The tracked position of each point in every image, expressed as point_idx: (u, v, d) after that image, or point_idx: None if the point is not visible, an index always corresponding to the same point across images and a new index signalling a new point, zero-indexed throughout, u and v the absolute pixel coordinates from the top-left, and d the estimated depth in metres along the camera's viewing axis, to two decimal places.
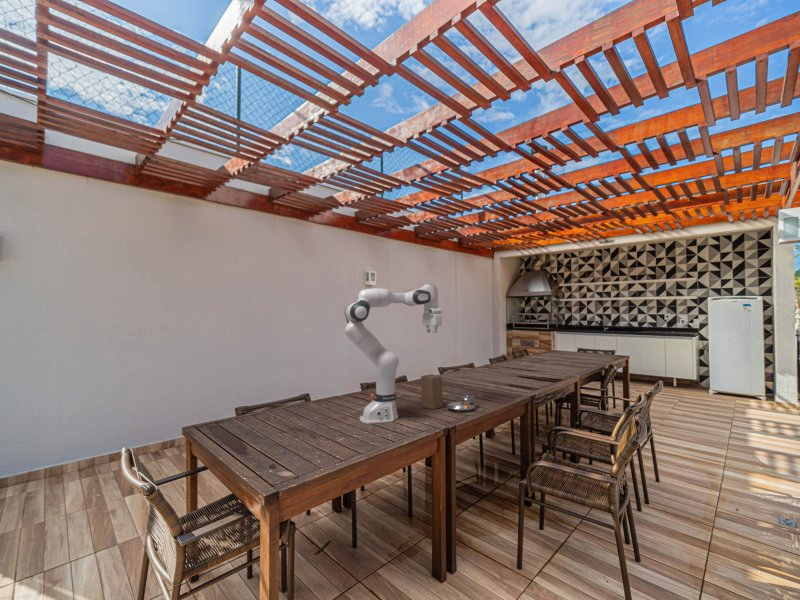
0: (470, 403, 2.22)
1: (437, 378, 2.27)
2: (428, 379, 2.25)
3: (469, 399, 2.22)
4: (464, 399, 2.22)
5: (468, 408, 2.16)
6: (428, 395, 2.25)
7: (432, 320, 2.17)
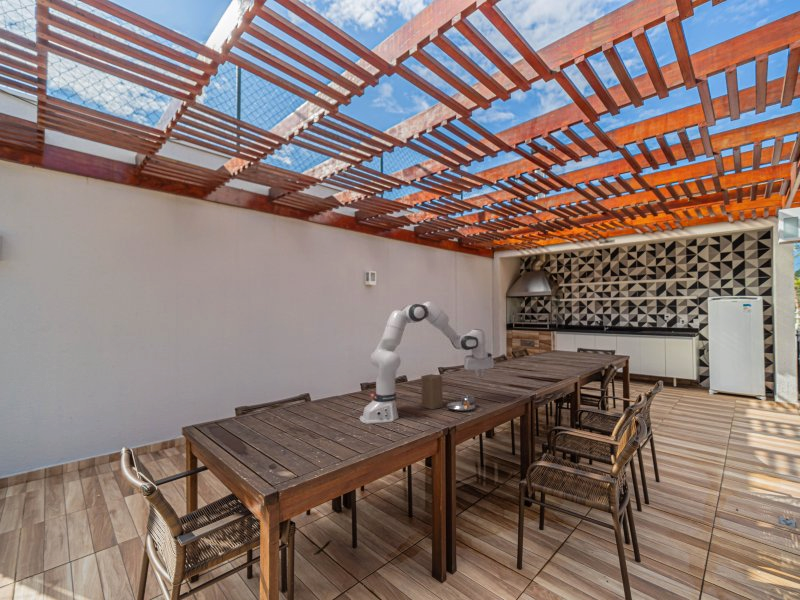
0: (470, 403, 2.22)
1: (437, 378, 2.27)
2: (428, 379, 2.25)
3: (469, 399, 2.22)
4: (464, 399, 2.22)
5: (468, 408, 2.16)
6: (428, 395, 2.25)
7: (486, 363, 2.29)
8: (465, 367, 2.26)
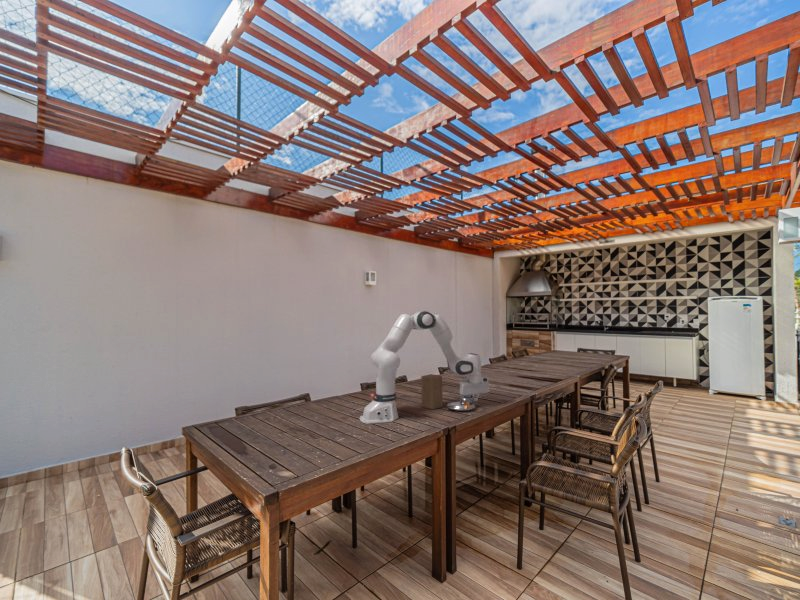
0: (469, 403, 2.21)
1: (437, 378, 2.27)
2: (428, 379, 2.25)
3: (468, 399, 2.21)
4: (463, 399, 2.22)
5: (468, 408, 2.16)
6: (428, 395, 2.25)
7: (482, 388, 2.27)
8: (460, 392, 2.24)
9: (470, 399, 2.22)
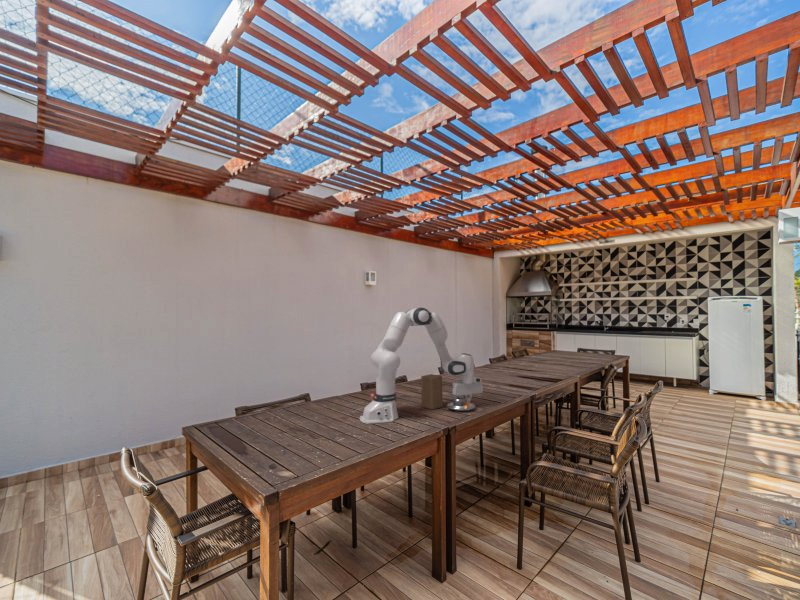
0: (462, 404, 2.19)
1: (437, 378, 2.27)
2: (428, 379, 2.25)
3: (461, 400, 2.19)
4: (456, 400, 2.20)
5: (468, 408, 2.16)
6: (428, 395, 2.25)
7: (475, 388, 2.26)
8: (453, 393, 2.22)
9: (463, 400, 2.20)
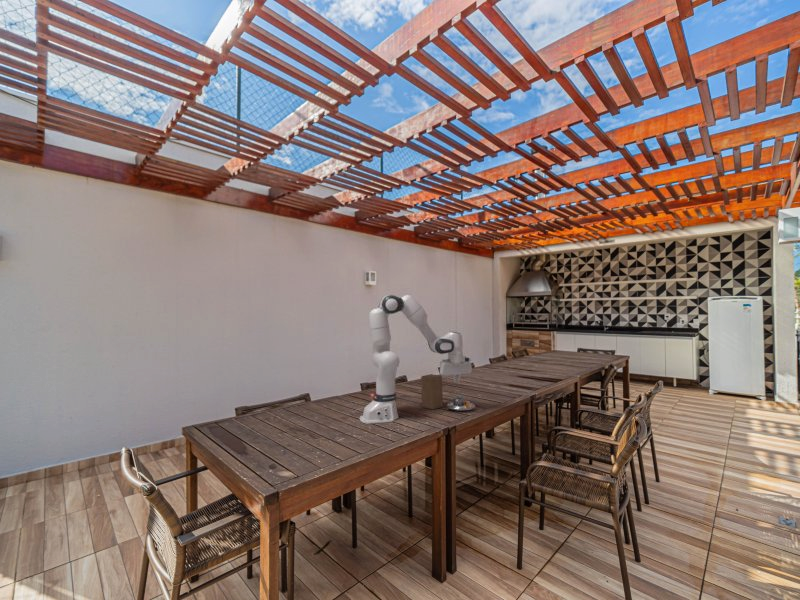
0: (462, 404, 2.19)
1: (437, 378, 2.27)
2: (428, 379, 2.25)
3: (461, 400, 2.19)
4: (456, 400, 2.20)
5: (468, 408, 2.16)
6: (428, 395, 2.25)
7: (464, 368, 2.15)
8: (440, 372, 2.11)
9: (463, 400, 2.20)
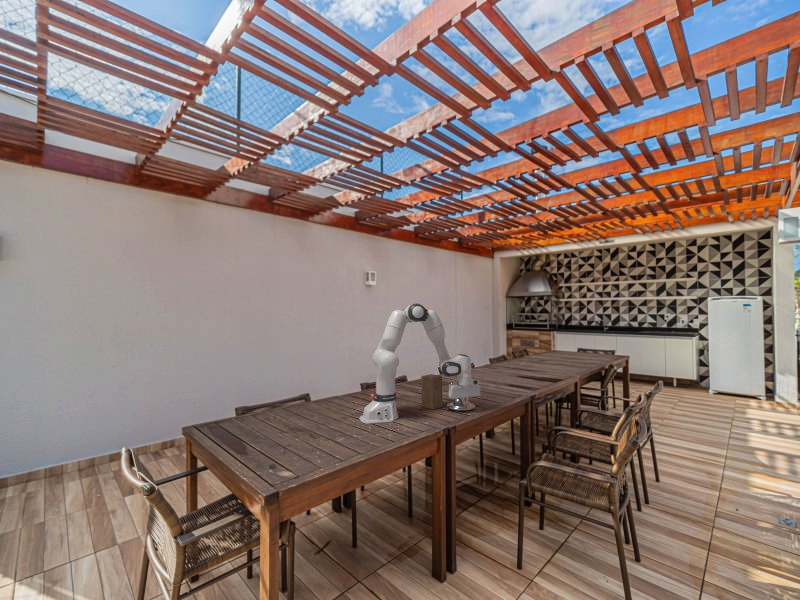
0: (462, 404, 2.19)
1: (437, 378, 2.27)
2: (428, 379, 2.25)
3: (461, 400, 2.19)
4: (456, 400, 2.20)
5: (469, 408, 2.16)
6: (428, 395, 2.25)
7: (472, 391, 2.16)
8: (449, 395, 2.13)
9: None
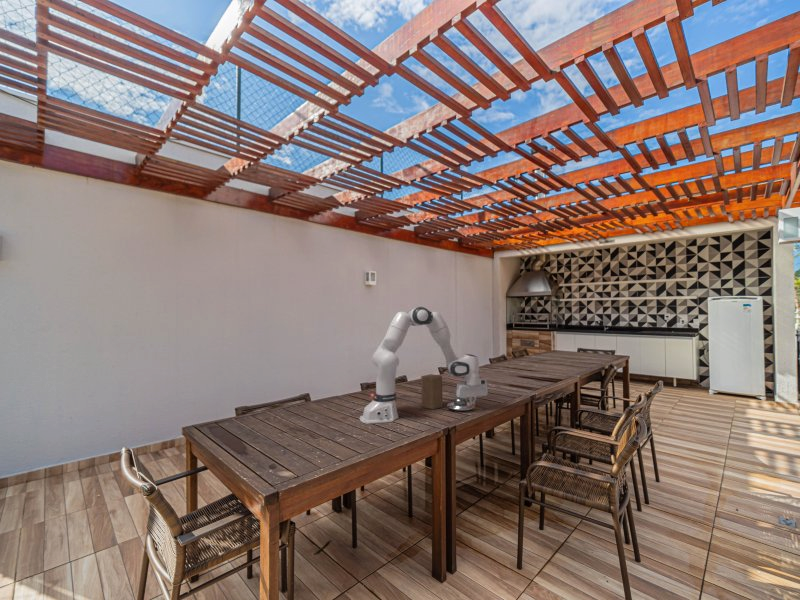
0: (466, 403, 2.21)
1: (437, 378, 2.27)
2: (428, 379, 2.25)
3: (466, 400, 2.20)
4: (462, 400, 2.19)
5: (474, 406, 2.20)
6: (428, 395, 2.25)
7: (480, 390, 2.18)
8: (457, 395, 2.15)
9: (466, 399, 2.22)
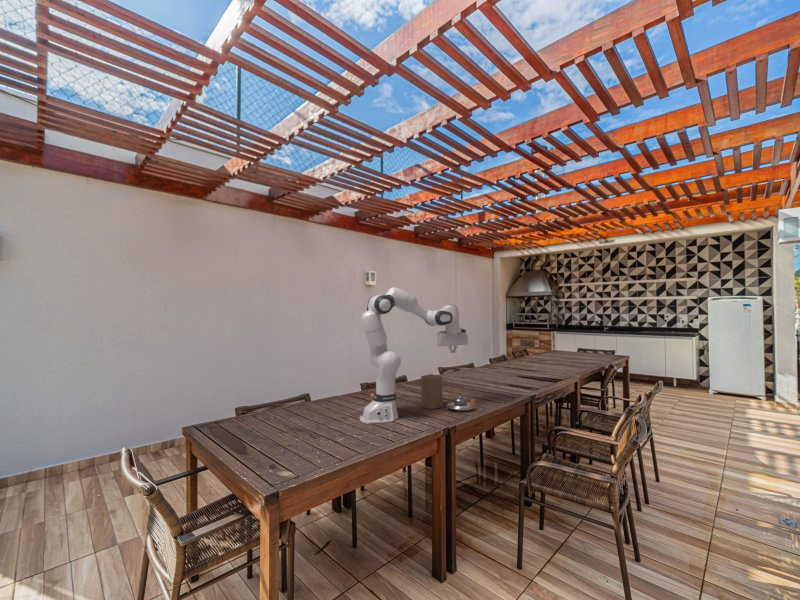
0: (466, 403, 2.21)
1: (437, 378, 2.27)
2: (428, 379, 2.25)
3: (466, 400, 2.20)
4: (462, 400, 2.19)
5: (474, 406, 2.20)
6: (428, 395, 2.25)
7: (460, 339, 2.24)
8: (438, 343, 2.21)
9: (466, 399, 2.22)
